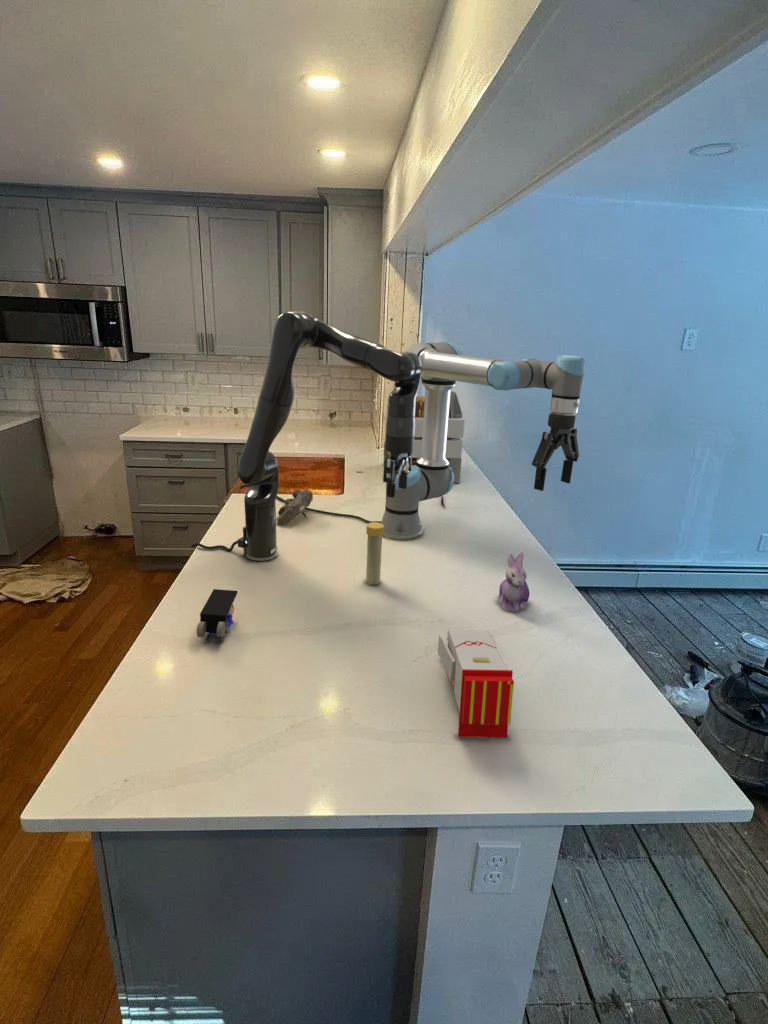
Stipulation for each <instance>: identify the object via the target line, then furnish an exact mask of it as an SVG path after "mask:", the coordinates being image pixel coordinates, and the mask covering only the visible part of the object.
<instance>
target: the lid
mask: <svg viewBox="0 0 768 1024" xmlns="http://www.w3.org/2000/svg"><path fill="white" fill-rule="evenodd" d="M365 534H366V535H367V536H368V535H369V536H374V537H378V536H382V537H383V534H384V525H383V524H381V523H377V522H372V523H366V529H365Z"/></svg>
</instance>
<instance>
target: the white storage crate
mask: <svg viewBox="0 0 768 1024" xmlns="http://www.w3.org/2000/svg"><path fill="white" fill-rule="evenodd" d="M424 404H425V396H417V395H416V403H415V436H414V450H413V451H412V465H413V466H416V461H417V459H418V458H420V457H421V449H422V434H423V419H424ZM387 411H388V404H387V405H386V413H385V414H386V415H385V421H386V420H387ZM464 429H465V419H464V418H463V411H462V408H461V405H460V402H459V398H458V395H457V392H455V391H453V390H451V392H450V404H449V416H448V428H447V441H446V453H445V458H446V459H447V461H448V462H449V466H450V467H451V469H452V473H454V484H455V483H456V484H459V483H461V472H462V461H463V460H462V453H463V442H464V441H463V440H462V439H463V438H464V431H465V430H464ZM390 455H391V453H390V452H389V451H386V450H385V441H384V442H383V465H384V461H385V459H389V458H390Z"/></svg>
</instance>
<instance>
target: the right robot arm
mask: <svg viewBox="0 0 768 1024" xmlns="http://www.w3.org/2000/svg"><path fill="white" fill-rule="evenodd" d="M405 352H412V353H414V354H416V355H417V356H418V357H419V359H420V362H421V378H420V380H421V381H420V382H421V385H422V386H423V387H424V389H425V392H424V397H425V404H424V419H423V434H422V449H421V457H420V458H418V459H417V461H416V466H413V465H412V470H411V471H409V475H407V476H408V478H407V488H406V489H402V488H399V476H398V477H397V480H396V483H395V484H396V491H395V497H393V498H392V497H387V495H386V494H387V483H386V482H385V504H384V505H385V507H384V508H385V509H384V513H383V515H382V519H381V520H373V521H372V520H368V519H365V518H364V517H361V516H358V515H354V514H348V513H347V514H345V513H339V512H333V511H326V510H319V509H315V508H310V507H306V508H305V510H304V511H309V512H314V513H318V514H324V515H330V516H337V517H346V518H352V519H357V520H359V521H362V522H365V523H366V524H368V523H372V522H377V523H381V524H383V525H384V534H383V535H382V537H385V538H387V539H389V540H395V541H410V540H415V539H418V538H420V537H421V536H422V535H423V525H422V521H421V518H420V515H419V507H420V506H419V505H420V502H423V501H427V500H431V499H437V498H440V497H441V498H442V496H443V497H444V496H446V495H448V493H450V492H451V490H452V489H453V488H454V487H453V486H454V484H455V483H454V473H452V469H451V467H450V466H449V462H448V461H447V459H446V458H445V453H446V441H447V428H448V416H449V404H450V392H451V391H452V389H453V388H454V387H455V386H456V384H457V382H461V383H465V384H473V385H479V386H487V387H491V388H492V389H494V390H496V391H503V392H504V391H511V390H520V389H532V388H533V389H534V388H539V389H546V390H551V398H550V404H549V413H548V418H547V419H548V420H547V426H548V427H549V428H550V431H549V432H548V431H543V432H542V435H541V440H540V442H539V445H538V447H537V449H536V452H535V454H534V457H533V460H532V461H531V466H533V467H535V475H534V477H535V478H534V485H533V489H534V490H537V491H539V492H543V491H544V489H545V484H546V483H545V482H546V476H547V468H546V466H547V465H548V463H549V461H550V459H551V457H552V456H553V454H554V453H555V451H556V450H557V449H558V448H560V447H561V449H562V452H563V455H564V458H565V459H563V463H562V468H561V469H562V470H561V475H560V482H562V483H566V484H571V478H572V472H573V466H574V463H576V462H578V461H579V457H580V453H579V444H578V428H576V423H577V419H578V416H577V414H578V412H579V411H578V410H579V406H580V397H581V391H582V385H583V380H584V376H585V365H586V360H585V358H584V357H582V356H578V355H566V354H565V355H564V354H563V355H558V356H557V357H556V360H555V361H549V360H541V359H536V358H524V359H521V360H506V359H505V360H504V359H503V360H502V359H496V358H487V357H479V356H471V355H464V354H463V352H462V350H461V349H460V347H459V346H457V345H456V344H455V343H451V342H445V341H443V342H442V341H441V342H440V341H439V342H438V341H437V342H417V343H414V344H412V345H411V346H409V347H408V348H407V350H406V351H405ZM247 487H248V488H251V486H249V485H246V484H243V485H241V486H240V487H239V489H241V490H242V489H244V488H247ZM276 499H277V500H279V501H281V502H283V503H285V500H286V499H284V498H282V497H280V496H278V495H277V496H276Z"/></svg>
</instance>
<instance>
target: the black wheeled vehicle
mask: <svg viewBox="0 0 768 1024" xmlns="http://www.w3.org/2000/svg"><path fill="white" fill-rule="evenodd" d="M237 595H238V590H233V589H220V588H219V589H217V588H213V589H212V591H211V593H210V595H209V596H208V599H207V600H206V602H205V604H204V605H203V607H202V609H201V611H200V612H199V622H198V624H197V628H196V637H199V638H204V637H205V635H206V633H207V635H206V637H205V639H204V640H205V642H206V643H207V642H209V641H210V638H211V636H212V635H213V636H216V637H217V642H221V641H222V639H223V638H224V637H225V635H227V633H228V631H227V630H228V629H229V627H231V626H232V625H233V623H234V621H233V615H234V613H235V606H234V602H235V600H236V597H237ZM227 620H229V622H228V621H227ZM227 622H228V623H227Z"/></svg>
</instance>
